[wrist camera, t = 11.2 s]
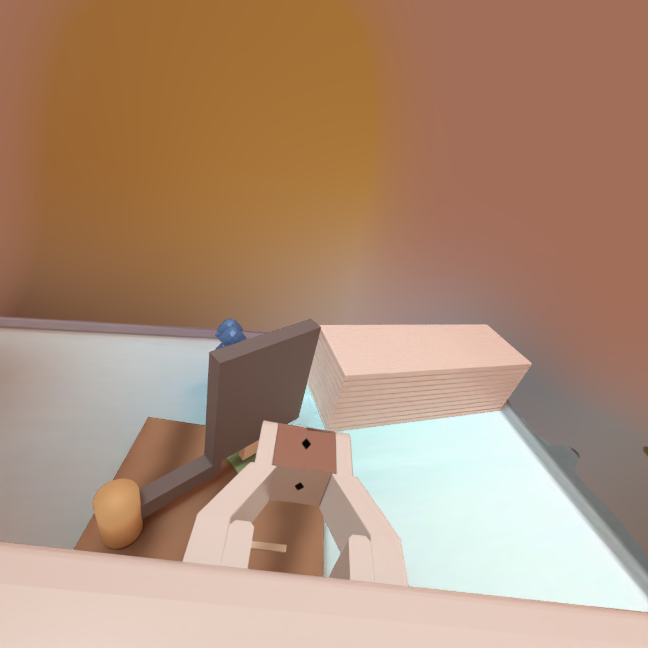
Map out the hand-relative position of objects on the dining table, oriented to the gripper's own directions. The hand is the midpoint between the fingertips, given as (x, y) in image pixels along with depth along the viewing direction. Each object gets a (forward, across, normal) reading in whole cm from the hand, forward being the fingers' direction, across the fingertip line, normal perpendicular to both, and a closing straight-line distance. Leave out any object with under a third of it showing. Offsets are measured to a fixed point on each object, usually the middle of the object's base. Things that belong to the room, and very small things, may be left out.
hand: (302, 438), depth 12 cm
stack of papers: (+35, -21, +28) cm, 49 cm away
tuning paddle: (+14, +6, +25) cm, 29 cm away
